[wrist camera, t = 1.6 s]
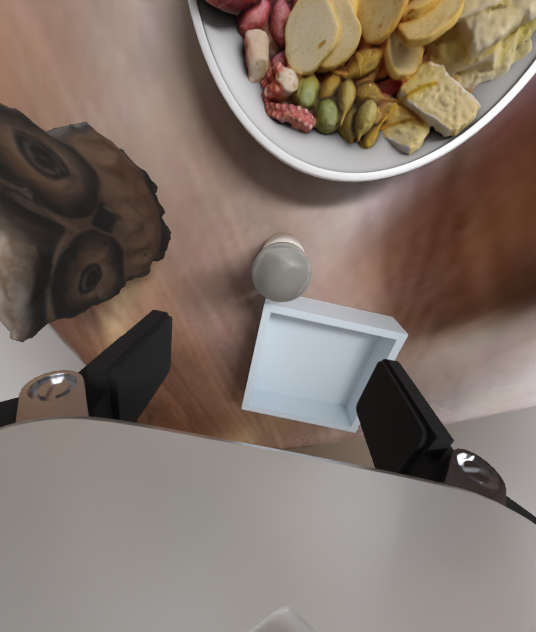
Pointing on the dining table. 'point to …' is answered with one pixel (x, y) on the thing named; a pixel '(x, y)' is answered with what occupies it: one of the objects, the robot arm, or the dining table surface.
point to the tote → (317, 360)
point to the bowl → (366, 76)
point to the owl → (69, 222)
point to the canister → (282, 269)
